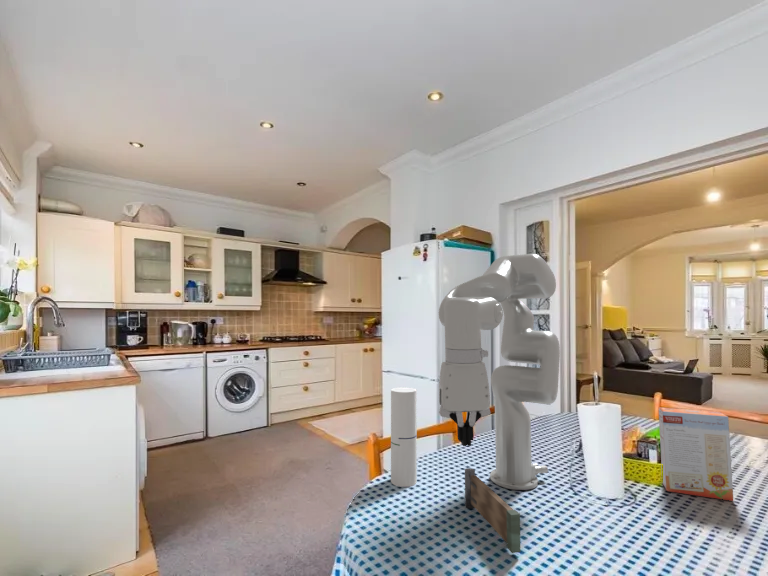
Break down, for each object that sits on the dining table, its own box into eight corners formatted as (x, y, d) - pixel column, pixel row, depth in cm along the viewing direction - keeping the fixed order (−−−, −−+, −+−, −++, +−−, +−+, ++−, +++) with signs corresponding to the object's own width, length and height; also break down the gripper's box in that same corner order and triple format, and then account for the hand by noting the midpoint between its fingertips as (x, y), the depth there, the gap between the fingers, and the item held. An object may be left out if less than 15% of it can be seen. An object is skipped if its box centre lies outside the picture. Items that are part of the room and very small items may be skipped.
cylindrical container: (415, 488, 105) (414, 392, 107) (388, 485, 107) (388, 391, 108) (418, 477, 112) (417, 387, 114) (393, 475, 114) (393, 386, 115)
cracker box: (725, 492, 103) (721, 411, 105) (734, 502, 98) (730, 416, 99) (661, 482, 109) (658, 405, 110) (665, 491, 104) (662, 410, 105)
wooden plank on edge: (469, 505, 94) (469, 475, 94) (476, 505, 94) (476, 474, 94) (511, 553, 75) (511, 515, 76) (520, 551, 76) (519, 514, 76)
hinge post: (472, 503, 97) (472, 467, 97) (476, 508, 95) (476, 471, 95) (463, 504, 96) (463, 468, 97) (467, 509, 94) (467, 472, 95)
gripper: (492, 353, 88) (494, 436, 88) (425, 354, 87) (427, 438, 87) (504, 358, 80) (506, 449, 80) (430, 360, 80) (433, 452, 79)
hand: (465, 443), depth 83 cm, fingers closed
